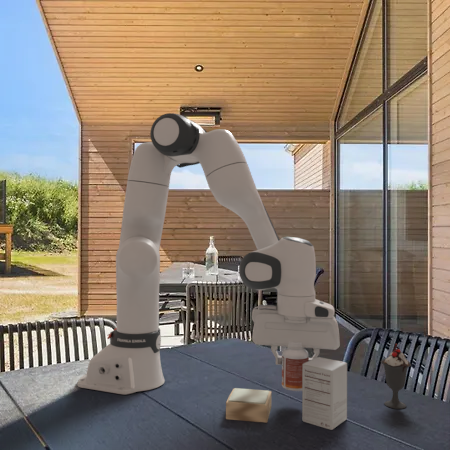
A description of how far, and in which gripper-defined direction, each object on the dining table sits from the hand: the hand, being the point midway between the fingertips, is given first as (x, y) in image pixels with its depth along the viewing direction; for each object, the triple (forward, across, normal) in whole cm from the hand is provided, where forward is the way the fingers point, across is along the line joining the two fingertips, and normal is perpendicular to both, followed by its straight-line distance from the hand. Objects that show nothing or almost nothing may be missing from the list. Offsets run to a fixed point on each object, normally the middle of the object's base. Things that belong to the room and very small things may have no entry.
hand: (295, 365), depth 116 cm
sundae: (+9, +23, +5) cm, 26 cm away
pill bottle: (+5, 0, 0) cm, 5 cm away
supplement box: (+10, +7, -8) cm, 14 cm away
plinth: (+10, -10, -7) cm, 15 cm away
